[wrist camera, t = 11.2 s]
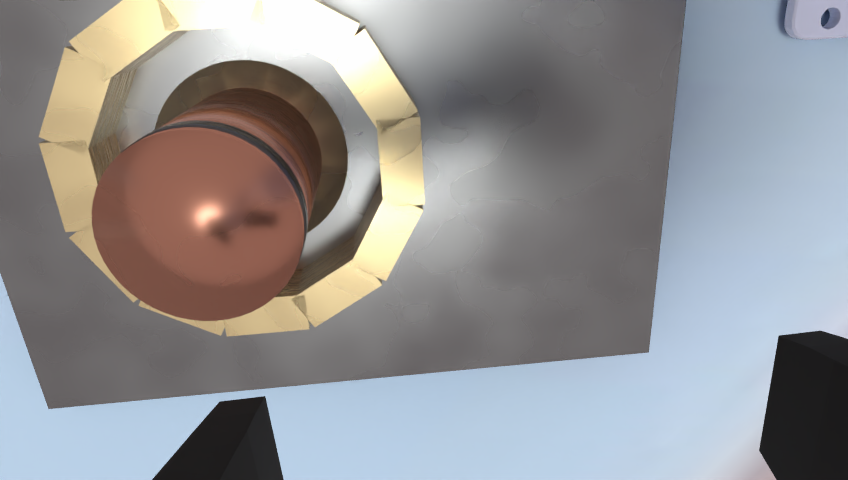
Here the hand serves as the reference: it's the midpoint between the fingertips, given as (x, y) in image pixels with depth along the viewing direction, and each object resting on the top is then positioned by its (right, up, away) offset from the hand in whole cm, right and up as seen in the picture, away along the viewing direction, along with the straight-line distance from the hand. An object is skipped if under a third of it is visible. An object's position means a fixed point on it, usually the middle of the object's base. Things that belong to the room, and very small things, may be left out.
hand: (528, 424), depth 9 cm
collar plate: (-4, +5, +8) cm, 10 cm away
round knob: (-6, +5, +7) cm, 10 cm away
